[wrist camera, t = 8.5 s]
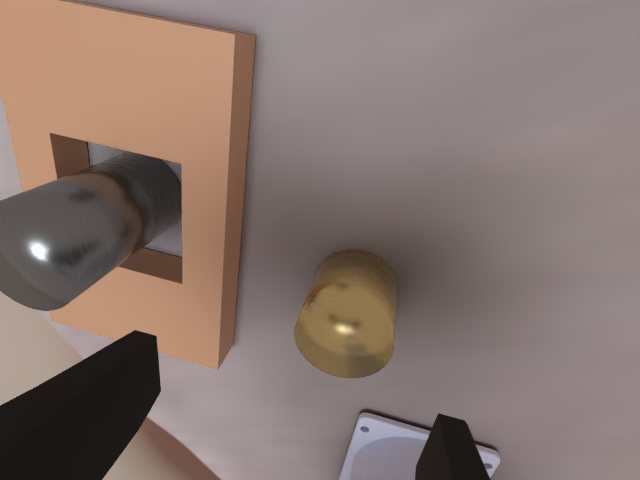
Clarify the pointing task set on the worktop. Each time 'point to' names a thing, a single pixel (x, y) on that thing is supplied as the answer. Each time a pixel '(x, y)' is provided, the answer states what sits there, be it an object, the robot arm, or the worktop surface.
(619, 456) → the worktop surface
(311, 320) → the short brass pin
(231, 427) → the worktop surface
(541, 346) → the worktop surface
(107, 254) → the long steel pin
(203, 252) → the hole board
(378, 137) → the worktop surface
